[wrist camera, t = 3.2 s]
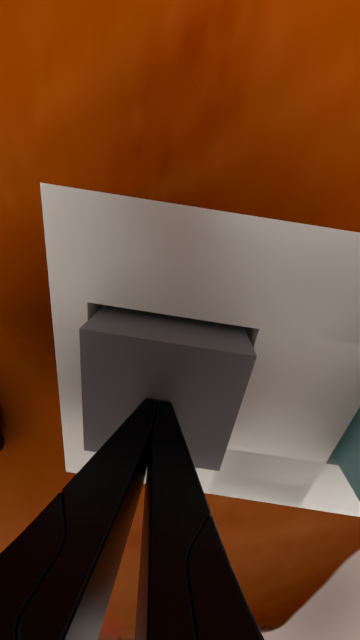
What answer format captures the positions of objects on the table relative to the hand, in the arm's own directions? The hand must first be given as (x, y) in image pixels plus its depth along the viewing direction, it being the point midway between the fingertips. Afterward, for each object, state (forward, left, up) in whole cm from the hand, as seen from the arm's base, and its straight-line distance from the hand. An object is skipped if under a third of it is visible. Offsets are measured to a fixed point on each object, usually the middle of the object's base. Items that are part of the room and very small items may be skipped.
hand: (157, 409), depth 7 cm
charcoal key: (0, 0, -3) cm, 3 cm away
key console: (+5, 0, -5) cm, 7 cm away
